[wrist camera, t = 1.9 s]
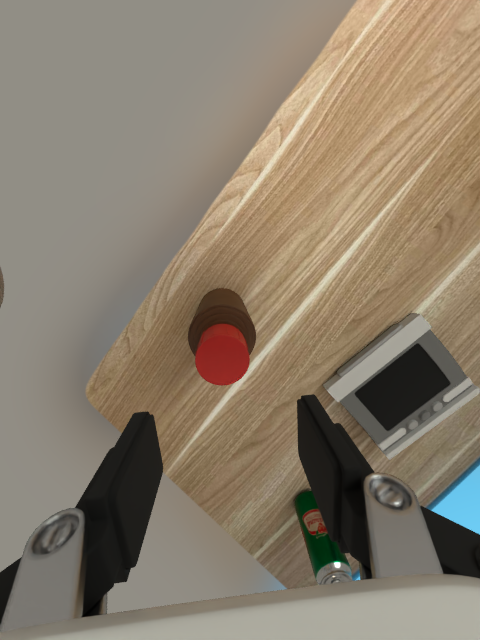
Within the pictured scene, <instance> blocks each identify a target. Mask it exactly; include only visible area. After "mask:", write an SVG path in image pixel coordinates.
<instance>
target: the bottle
mask: <svg viewBox="0 0 480 640" xmlns="http://www.w3.org/2000/svg"><path fill="white" fill-rule="evenodd" d="M216 324H229V325H232V326H234V327H236V328H237V329H239V331H240V332H241V333H242V335H243V336H244V338H245V340H246V343H247V347H248V353H249V355H250V354H251V352H252V350H253V348H254V345H255V341H256V332H255V327H254V325H253V322H252V320H251V318H250V316H249V314H248V312H247V309H246V307H245V305H244V303H243V301H242V299H241V298H240V296H239V295H238V294H237V293H235V292H234V291H232V290H229V289H224V288H219V289H215V290H212V291H210V292H209V293H207V294H206V295H205V296H204V298H203V299H202V301H201V303H200V305H199V307H198V310H197V312H196V314H195V316H194V318H193V321H192V323H191V325H190V328H189V333H188V341H189V345H190V348H191V350H192V352H193V354H194V355H195V354H196V350H197V346H198V343H199V341H200V338H201V336H202V334H203V332H205V331H206V330H207V329H208V328H209V327H211V326H213V325H216ZM195 357H196V355H195Z"/></svg>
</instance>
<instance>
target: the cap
mask: <svg viewBox="0 0 480 640" xmlns="http://www.w3.org/2000/svg"><path fill="white" fill-rule="evenodd" d="M195 355H196V357H195V364H196V368H197V370H198V372H199V374H200V375H201V376H202V377H203V378H204V379H205V380H206V381H208V382H210V383H212V384H215V385H229V384H232V383H235V382H236V381H238V380H239V379H241V378H242V377H243V376H244V374H245V373H246V371H247V369H248V367H249V361H250V358H249V353H248V347H247V343H246V340H245V338H244V336H243V335H242V333H241V332H240V331H239V329H237V328H236V327H234V326H232V325H229V324H216V325H213V326H211V327H209V328H208V329H207V330H206V331H205V332H203V334H202V336H201V338H200V341H199V343H198V346H197V350H196V354H195Z"/></svg>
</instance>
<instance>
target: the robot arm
mask: <svg viewBox="0 0 480 640" xmlns="http://www.w3.org/2000/svg"><path fill="white" fill-rule="evenodd" d="M297 418H298V453H299V457H300V460H301V463H302V466H303V468H304V471H305V474H306V476H307V479H308V481H309V484H310V487H311V489H312V492H313V495H314V497H315V500H316V503H317V505H318V508H319V511H320V513H321V516H322V519H323V521H324V524H325V527H326V529H327V532H328V535H329V537H330V540H331V541H332V542H337V544H338V547H339V550H340V552H341V554H343V553H350V555H351V556H352V557H354V558H355V559H356V560H358V561H359V568H360V579H361V580H356V581H348V582H340V583H333V584H325V585H317V586H309V587H301V588H294V589H286V590H278V591H270V592H263V593H255V594H248V595H240V596H233V597H226V598H218V599H212V600H203V601H196V602H189V603H182V604H175V605H167V606H160V607H153V608H146V609H139V610H132V611H124V612H117V613H110V614H107V592H108V591H109V590H110V589H111V588H112V587H113V586H114V583H120V582H126V581H127V579H128V575H129V572H130V569H131V568H133V567H135V566H136V564H137V561H138V557H139V554H140V550H141V547H142V543H143V540H144V536H145V533H146V529H147V526H148V522H149V519H150V515H151V512H152V508H153V505H154V501H155V498H156V494H157V490H158V487H159V484H160V480H161V477H162V472H163V463H162V458H161V453H160V447H159V442H158V436H157V431H156V426H155V420H154V416H153V415H150V414H149V412H138V413H134V414H133V415H132V417H131V419H130V421H129V422H128V424H127V426H126V427H125V429H124V431H123V433H122V434H121V436H120V438H119V440H118V441H117V443H116V445H115V447H113V448H111V449H110V450H109V452H108V453H107V455H106V456H105V458H104V460H103V462H102V463H101V465H100V467H99V468H98V470H97V472H96V473H95V475H94V477H93V479H92V480H91V482H90V483H89V485H88V487H87V488H86V490H85V492H84V494H83V495H82V497H81V499H80V500H79V502H78V504H77V505H76V507H75V508H69V509H66V510H62V511H60V512H58V513H56V514H54V515H52V516H51V517H49V518H48V519H47V520H45V521H44V522H43V523H42V524H41V525H40V526H39V527H38V528H36V529H35V531H34V532H33V534H32V535H31V536H30V537H29V539H28V541H27V543H26V546H25V548H24V552H23V555H22V557H21V558H20V559H18V560H17V561H15V562H14V563H13V564H11V565H10V566H8V567H7V568H6V569H4V570H3V571H2V572H0V640H480V535H479V534H477V533H475V532H473V531H471V530H469V529H467V528H465V527H463V526H461V525H459V524H456V523H455V522H453V521H451V520H449V519H447V518H445V517H443V516H441V515H438V514H437V513H434V512H433V511H430V510H428V509H426V508H424V507H422V506H420V505H419V502H418V499H417V497H416V495H415V493H414V491H413V490H412V489H411V488H410V487H409V486H408V485H407V484H406V483H405V482H403V481H402V480H401V479H399V478H397V477H395V476H393V475H390V474H387V473H380V472H377V473H375V472H374V471H373V469H372V468H371V467H370V465H369V464H368V462H367V461H366V459H365V458H364V457H363V455H362V454H361V452H360V451H359V449H358V448H357V447H356V445H355V444H354V442H353V441H352V439H351V438H350V437H349V435H348V434H347V432H346V431H345V429H344V428H343V427H342V425H341V424H339V423H336V424H334V423H333V422H332V420H331V419H330V417H329V416H328V414H327V413H326V411H325V410H324V408H323V407H322V405H321V404H320V402H319V400H318V399H317V397H316V396H315V395H304V396H301V399H298V400H297Z"/></svg>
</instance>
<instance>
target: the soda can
mask: <svg viewBox="0 0 480 640" xmlns="http://www.w3.org/2000/svg"><path fill="white" fill-rule="evenodd" d="M294 506H295V510H296V513H297V516H298V520H299V523H300V527H301V530H302V534H303V537H304V540H305V544H306V547H307V551H308V554H309V558H310V561H311V565H312V568H313V571H314V575H315V578H316V581H317V583H318V584H319V585H325V584H333V583H340V582H348V581H352V577H351V568H350V565H349V563H348V560H347V558H346V556H345V553H343V554H341V552H340V550H339V547H338V544H337V542H332V541H331V540H330V537H329V535H328V532H327V529H326V527H325V524H324V521H323V519H322V516H321V513H320V511H319V508H318V505H317V503H316V500H315V497H314V495H313V492H312V491H304V492H302V493H300V494H299V495H298V496H297V498H296V500H295V503H294Z"/></svg>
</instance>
